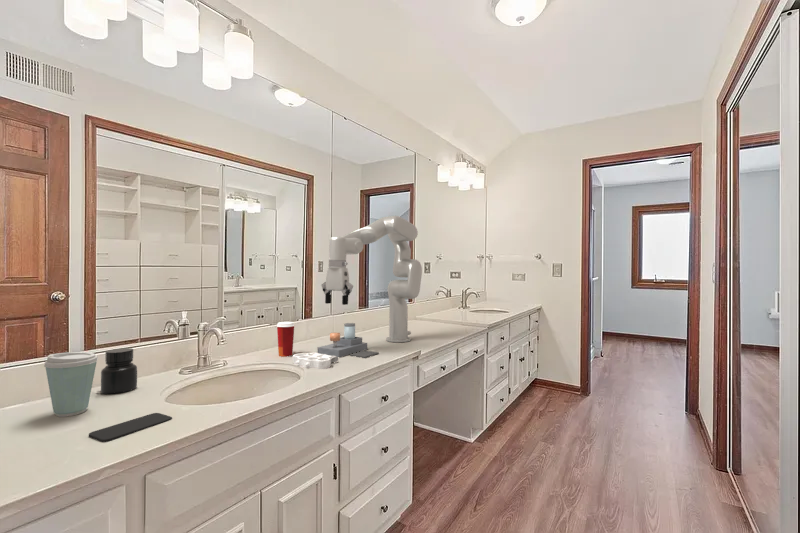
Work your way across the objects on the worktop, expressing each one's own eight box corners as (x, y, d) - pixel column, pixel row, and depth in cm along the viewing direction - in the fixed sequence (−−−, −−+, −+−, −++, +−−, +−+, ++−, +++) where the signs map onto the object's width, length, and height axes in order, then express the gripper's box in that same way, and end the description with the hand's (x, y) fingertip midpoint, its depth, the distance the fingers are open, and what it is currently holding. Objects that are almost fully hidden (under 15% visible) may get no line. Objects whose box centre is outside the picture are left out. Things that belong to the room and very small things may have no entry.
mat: (364, 351, 173) (364, 350, 173) (378, 353, 168) (378, 352, 168) (349, 355, 164) (350, 354, 164) (365, 358, 160) (365, 356, 160)
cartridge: (348, 342, 180) (348, 322, 180) (357, 343, 177) (357, 323, 177) (341, 343, 176) (341, 323, 176) (350, 344, 173) (350, 324, 173)
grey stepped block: (347, 346, 184) (347, 335, 184) (367, 349, 178) (367, 337, 178) (317, 354, 167) (317, 341, 167) (338, 357, 161) (338, 344, 161)
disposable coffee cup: (92, 402, 106) (92, 347, 106) (103, 411, 99) (104, 353, 99) (39, 413, 97) (40, 353, 97) (47, 424, 90) (48, 360, 91)
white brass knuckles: (344, 364, 151) (316, 372, 139) (312, 358, 161) (284, 365, 149) (344, 355, 151) (316, 363, 139) (312, 350, 161) (284, 356, 149)
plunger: (334, 347, 171) (334, 332, 171) (342, 348, 169) (342, 333, 169) (327, 348, 167) (327, 333, 167) (335, 349, 165) (335, 334, 165)
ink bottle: (141, 384, 122) (142, 346, 123) (134, 392, 114) (134, 352, 114) (104, 387, 119) (105, 348, 119) (94, 396, 111) (94, 354, 111)
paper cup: (297, 353, 168) (297, 321, 168) (290, 357, 161) (291, 324, 161) (280, 353, 169) (280, 321, 169) (272, 357, 161) (273, 323, 162)
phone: (174, 417, 94) (104, 440, 81) (174, 420, 94) (104, 444, 81) (156, 412, 98) (86, 433, 84) (156, 415, 98) (86, 437, 84)
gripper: (358, 265, 168) (357, 304, 167) (328, 265, 177) (327, 302, 176) (347, 264, 161) (346, 305, 161) (316, 264, 170) (315, 303, 170)
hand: (336, 303), depth 168 cm, fingers open, 9 cm apart
